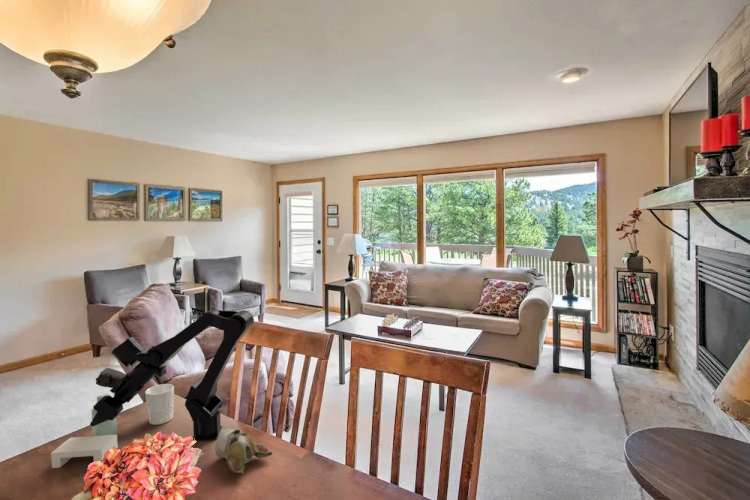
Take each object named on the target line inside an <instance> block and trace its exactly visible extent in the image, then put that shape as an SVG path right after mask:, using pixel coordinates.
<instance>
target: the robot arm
mask: <svg viewBox="0 0 750 500" xmlns="http://www.w3.org/2000/svg"><path fill="white" fill-rule="evenodd" d="M254 322H255V318H254V316H253V314H252V313H251V312H250V311H248V310H245V309H243V310H237V311H236V310H223V309H222V310H220V309H214V308H213V309H212V308H211V310H208V311H207V312H204V313H203V314H202V316H200V317H199V318H198V319H196V320H194V321H193V322H192V323H190V324H189V325H187V326H185V328H184V329H181V331H179V332H178V333H177V334H175V335H174V336H172V337H170V338H168V339H166V340H164V341H162V342H159V343H158V344H156V345H151V346H148V347H146V348H145V347H143V346H142V345H141V344H140V343H139V342H138V341H137V340H136V338H135V337H133V336H130V337H128V338H127V339H125V340H124V341H123V342H122V343H120V344H119V345H118V346H115V348H113V350H112V351H111V352H110V354H112V356H114V357H115V359H117V360H118V361H119V362H120V363H121V364H122V365H123V366H124V367H125V368H128V367H130V366H131V367H134V366H135V367H134V368H132V369H131V370H130V371H128V372H127V373H124V372H123V371H120V370H117V369H113V368H110V367H106V368H104V369H103V370H102V371H101V372H100V373H99V375H98V377H96V379H95V384H96V385H98V386H100V387H102V388H103V387H104V388H109V389H110V390H109V392H110V393H112V394H113V397H112V396H111V395H110V394H109V395H108V396H104V397H103V398H101V399H100V400H99V401H98V402H97V401H96V403H95V404H94V405H93V406H92V409H93V408H94V409H95V410H96V411H97V413H96V415H95V416H94V418H93V420H92V419H91V421H90V423H89V426H91V427H92V426H96V425H98V424H100V423H102V422H105V421H107V420H113V419H114V418H115V417H116V418H117V417H118V416H119V414H120V413H121V412H123V410H124V404H126V403H130V402H131V401H132V399H134V398H135V396H137V395H138V394H139V393H140V392H141V391H142V390H143V389H144V387H145V386H146V385H147V384H148V383H149V382H150V381H151V380H152V379H153V378H154V377H155V376H158V377H159V378H162V377H163V376H165V375H166V374H167V365H164V364H166V363H167V362H169V361H170V360H172V359H173V358H174V357H176V356H177V355H178V354H179V352H180V351H181V350H182V349H183V347H185V345H186V344H188V343H189V342H191V341H192V340H193V339H194V338H196V337H197V336H199V335H201V334H202V333H203V332H204V331H206V330H207V329H208V328H210V327H213V328H215V329H218V330H219V331H223V332H222V333H223V334H222V335H223V336H222V340H221V343H220V344H219V347H218V349H217V350H216V353H215V354H214V357H213V358H212V360H211V362H210V364H209V366H208V368H207V370H206V372H205V374H204V375H203V378H202V377H201V378H199V379H198V380H196V381H195V382H194V383H193V384H192V385H191V386H190V387H189V389H188V393H187V395H186V396H185V397H184V400H185V402H184V406H185V408H186V411H188V414H189V416H190V418H191V421H192V428H193V436H194V437H193V439H194V438H195V440H197V441H211V440H212V441H213V440H217V439H218V435H219V432H220V429H221V427H223V425H221V410H220V409H221V408H222V407H223V403H224V400H223V399H222V398H221V397H220V396H218V395H217V394H216V393H217V391H218V383H219V381H220V379H221V376H222V374H223V372H224V370H225V368H226V367H227V365H228V362H229V361H230V359H231V357H232V355H233V353H234V351H235V349H236V347H237V345H238V343H239V342H240V341H241V340H242V339H243V337H244V336H245V335H246V334H247V333H248V331H250V329H251V327H252V326H253V325H254ZM197 441H196V442H197Z"/></svg>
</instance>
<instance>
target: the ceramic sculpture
mask: <svg viewBox="0 0 750 500" xmlns="http://www.w3.org/2000/svg"><path fill="white" fill-rule="evenodd" d="M214 452H215V455H216V456H217V457H218V458H219V459H225V460H226V461H225V463H226V465H227V467H228V469H229V470H230V471H231V473H232V474H234V475H238V476H239V475H240V476H242V475H244V471H245V469H246V464H247V463H249V462H250V461H252V459H253V457H256V458H258V459H263V458H267V457H270V456H272V455H273V452H271V451H269V449H268V448H267V447H266V446H265V445H264V444H263V443H261V441H255V439H254V438H253V437H252V436H251V435H249V434H248V433H244V432H243V431H242V430H241V429H232V428H226V427H221V429H220V432H219V435H218V437H217V439H216V444H215V447H214Z"/></svg>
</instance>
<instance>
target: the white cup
mask: <svg viewBox="0 0 750 500" xmlns="http://www.w3.org/2000/svg"><path fill="white" fill-rule="evenodd" d="M144 394H145V402H146V409H147V415H148V422H149V424H150V425H155V426H156V425H163V424H165V423H168V422H169V421H171V420H172V419H173V418H174V408H175V386H174V385H173V384H172V383H162V384H158V385H153V386H151V387H149V388H147V389H146V390H145V392H144Z"/></svg>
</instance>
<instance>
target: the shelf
mask: <svg viewBox="0 0 750 500" xmlns="http://www.w3.org/2000/svg"><path fill="white" fill-rule="evenodd" d="M118 446H119V445H118V434H117V435H102V436H93V435H92V436H89V435H87V436H75V437H74V436H73V437H69V438H68V439H67V440H65V441H64V442H63V443H61V444H60V445H59V446H58V447H57V448H55V449H54V450H53V451H52V452H50V458H51V460H50V461H51V468H52V469H59V468H61V467H63V466H64V465H65V464H66V463H67V462H68V461H70V459H72V458H79V457H80V458H83V457H93V462H94V461H101V460H103V458H104V454H105V453H106V452H107V451H108V450H109V449H110V448H113V447H115V448H118V449H119V447H118Z"/></svg>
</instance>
